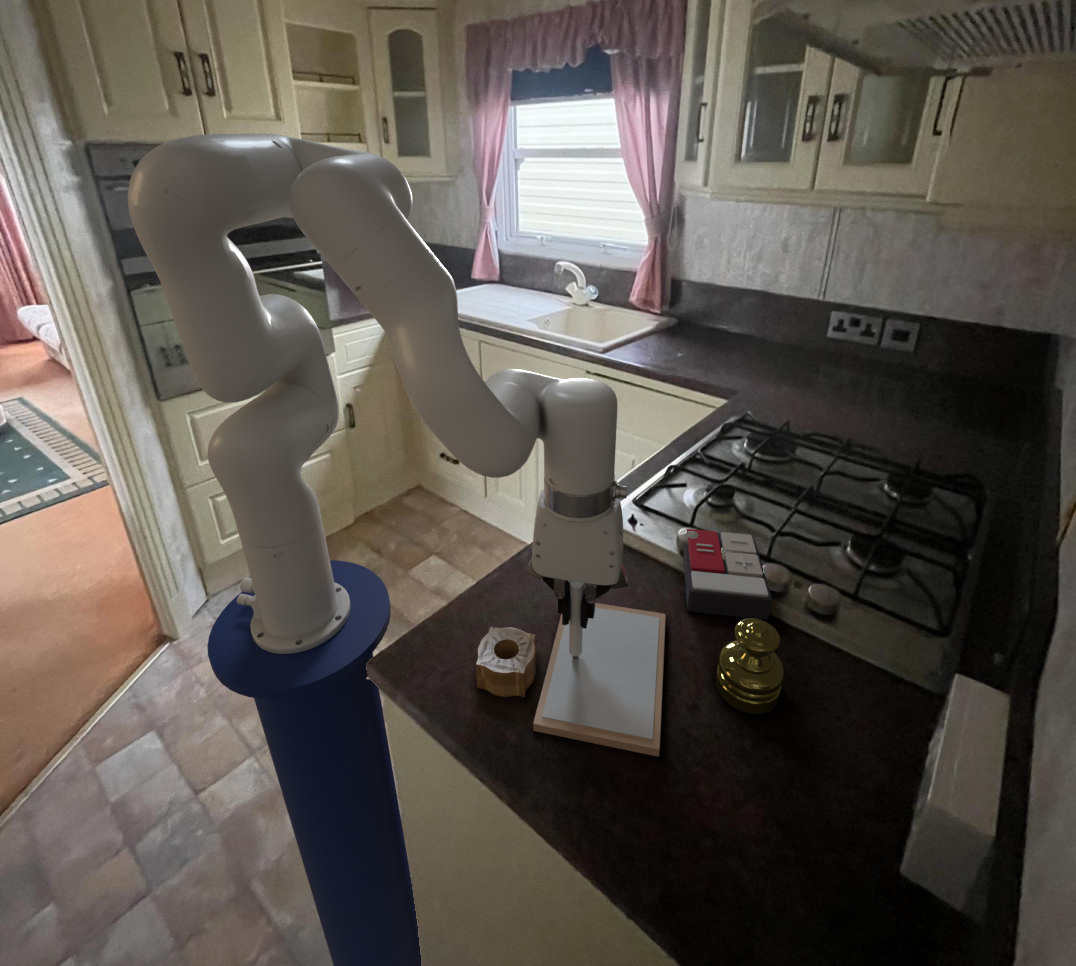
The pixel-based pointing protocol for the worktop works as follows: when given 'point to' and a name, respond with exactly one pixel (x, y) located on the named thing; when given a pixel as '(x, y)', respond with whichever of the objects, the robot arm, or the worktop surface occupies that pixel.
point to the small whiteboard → (607, 682)
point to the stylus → (575, 619)
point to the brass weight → (751, 668)
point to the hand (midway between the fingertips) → (576, 617)
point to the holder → (506, 662)
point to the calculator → (725, 576)
